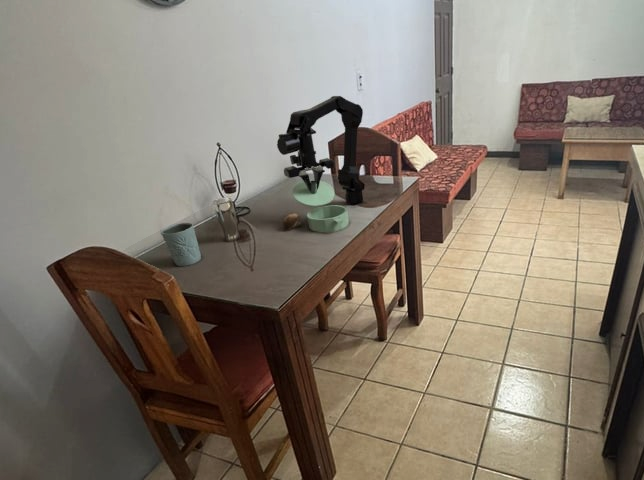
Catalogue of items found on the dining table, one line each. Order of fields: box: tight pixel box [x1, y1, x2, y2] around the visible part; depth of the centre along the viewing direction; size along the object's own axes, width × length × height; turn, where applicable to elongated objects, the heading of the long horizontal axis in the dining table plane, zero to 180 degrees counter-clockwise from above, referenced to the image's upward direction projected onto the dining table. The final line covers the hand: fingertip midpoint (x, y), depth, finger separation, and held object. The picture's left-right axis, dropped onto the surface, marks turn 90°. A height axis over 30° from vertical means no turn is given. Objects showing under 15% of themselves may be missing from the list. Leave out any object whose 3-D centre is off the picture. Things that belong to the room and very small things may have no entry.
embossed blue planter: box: [160, 222, 202, 267], centre depth 143 cm, size 10×10×12 cm
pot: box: [306, 204, 350, 234], centre depth 161 cm, size 15×21×5 cm
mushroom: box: [282, 213, 302, 231], centre depth 161 cm, size 8×8×6 cm
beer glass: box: [212, 196, 242, 243], centre depth 156 cm, size 7×7×15 cm
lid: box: [291, 179, 335, 208], centre depth 162 cm, size 16×16×6 cm
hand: (313, 190), depth 162 cm, fingers closed on lid, 3 cm apart
